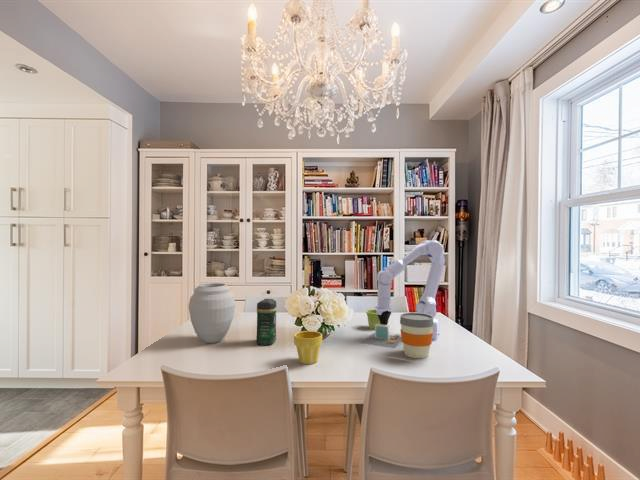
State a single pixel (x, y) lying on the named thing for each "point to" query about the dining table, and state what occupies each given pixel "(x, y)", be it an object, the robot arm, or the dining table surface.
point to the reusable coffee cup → (416, 334)
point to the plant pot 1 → (308, 346)
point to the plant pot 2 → (372, 318)
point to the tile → (382, 331)
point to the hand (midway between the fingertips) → (383, 327)
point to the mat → (381, 341)
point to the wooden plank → (393, 339)
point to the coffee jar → (266, 322)
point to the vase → (211, 311)
